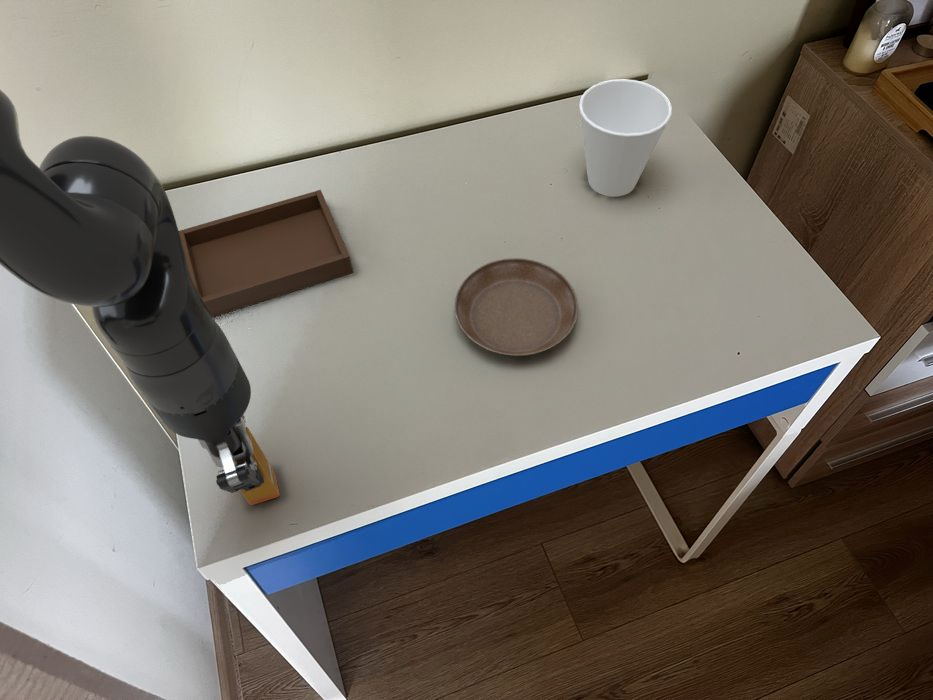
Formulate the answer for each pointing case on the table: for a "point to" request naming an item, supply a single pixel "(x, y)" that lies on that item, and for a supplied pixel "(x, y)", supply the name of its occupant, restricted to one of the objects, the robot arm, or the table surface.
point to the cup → (621, 132)
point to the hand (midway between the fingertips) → (249, 466)
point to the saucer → (516, 307)
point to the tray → (264, 253)
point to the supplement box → (270, 482)
